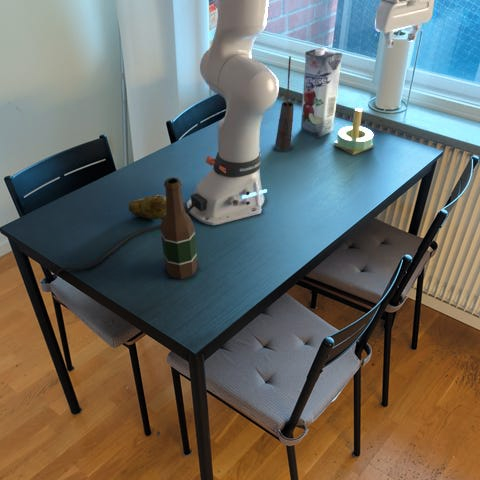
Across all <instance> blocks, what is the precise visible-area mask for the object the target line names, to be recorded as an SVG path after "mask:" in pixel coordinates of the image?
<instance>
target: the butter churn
mask: <svg viewBox="0 0 480 480" xmlns="http://www.w3.org/2000/svg"><path fill="white" fill-rule="evenodd" d="M291 61H292V56H291V55H289V56H288V68H287V70H288V71H287V88H286V89H287V91H286V101H282V102H281V105H280V106H281V107H280V112H279V119H278V125H277V132H276V137H275V144H274V148H275V150H276V151H279V152H286V151H289V150H290V149H292V148H291V147H292V136H293V135H292V134H293V131H292V130H293V122H294V107H295V106H294V102H292V101H289V99H290V97H289V95H290V94H289V93H290V79H291V78H290V77H291V76H290V75H291V63H292V62H291Z"/></svg>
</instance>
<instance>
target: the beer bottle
mask: <svg viewBox="0 0 480 480" xmlns="http://www.w3.org/2000/svg"><path fill="white" fill-rule="evenodd" d="M182 185H183V184H182V182H181V180H180V178H178V177H168V178H166V180H165V181H164V182H163V186H164V188H165V197H166V205H167V209H166V215H165V216H164V218H163V220H161V222H160V225H161V227H160V236H161V237H160V238H161V243H162V251H163V252H162V253H163V259H164V264H165V270H166V271H167V274H169V277H171V278H173V279H174V278H175V279H179V280H184V279H188V278H191V277H193V276H194V274H195V273H196V272H197V270H198V252H197V241H196V230H195V225H194V222H193V221H192V219H191V217H190V215H189V216H188V214H187V213H186V212H187V211H186V209H185V206H184V205H185V204H184V200H183V194H182V187H181V186H182Z"/></svg>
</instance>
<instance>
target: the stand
mask: <svg viewBox="0 0 480 480" xmlns="http://www.w3.org/2000/svg"><path fill="white" fill-rule="evenodd" d="M353 111H354V112H353V118H352V125H351V127H352V133H351V138H358V136H359V129H360V127H361V122H362V115H363V108H360V107H357V108H354V110H353ZM333 145H334V146H335V147H337V148H339V149H340V150H343V151H345V152H347V153H348V154H350V155H352V156H353V155H356V154H359V153H362V152H364V151H367V150H370V149H372V148H374V144H373V143H372V145H371V146H370V148H367V149H364V150H350V149H345V148H343V147H341V146H339V144H338V142H337V140H335V141H333Z"/></svg>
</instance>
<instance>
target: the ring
mask: <svg viewBox="0 0 480 480" xmlns="http://www.w3.org/2000/svg"><path fill="white" fill-rule="evenodd" d="M351 133H352V126H345V127H342V128H340V129H339V131H338V132H337V137H336V141H337V142H338V144H339V146H341V147H343V148H345V149H350V150H364V149H367V148H370V146H371V145H372V144H373V142H374V136H375V134H374V132H372V130H370V129H368V128H366V127H363V126H360V129H359V136H358V138H351ZM370 149H371V148H370ZM367 150H368V149H367Z"/></svg>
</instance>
